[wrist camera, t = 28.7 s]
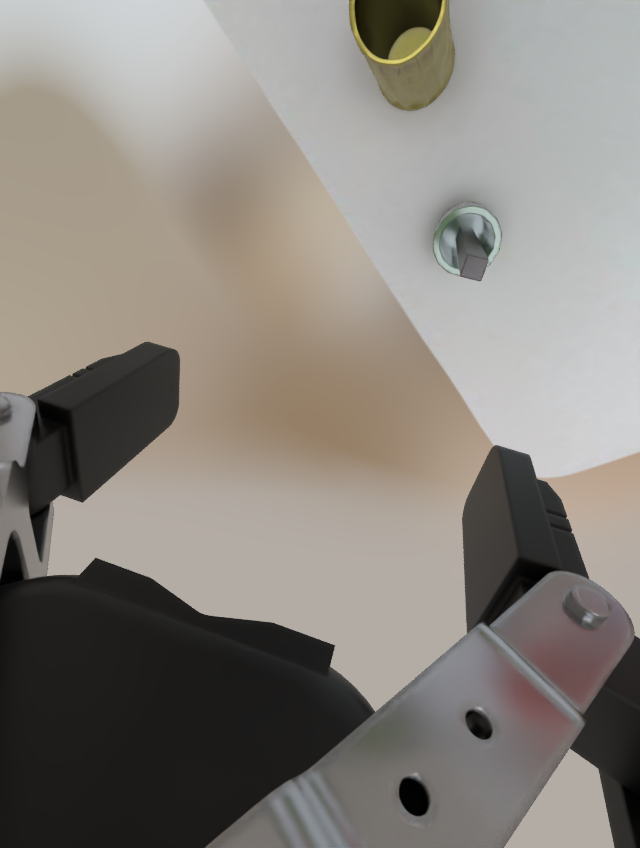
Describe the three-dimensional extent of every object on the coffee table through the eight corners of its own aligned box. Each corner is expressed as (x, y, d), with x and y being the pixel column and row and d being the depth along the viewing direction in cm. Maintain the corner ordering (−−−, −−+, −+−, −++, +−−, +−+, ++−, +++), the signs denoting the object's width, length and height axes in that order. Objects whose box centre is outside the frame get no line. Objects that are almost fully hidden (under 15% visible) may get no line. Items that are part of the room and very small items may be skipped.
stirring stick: (459, 225, 39) (467, 254, 24) (473, 229, 39) (489, 259, 24) (455, 239, 40) (459, 276, 25) (468, 243, 40) (480, 281, 24)
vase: (471, 47, 34) (484, -28, 22) (419, 127, 37) (405, 101, 25) (409, -6, 33) (387, -113, 21) (362, 80, 36) (319, 30, 24)
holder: (445, 196, 39) (445, 199, 33) (502, 209, 38) (513, 215, 32) (427, 254, 41) (424, 266, 36) (481, 267, 41) (486, 282, 35)
